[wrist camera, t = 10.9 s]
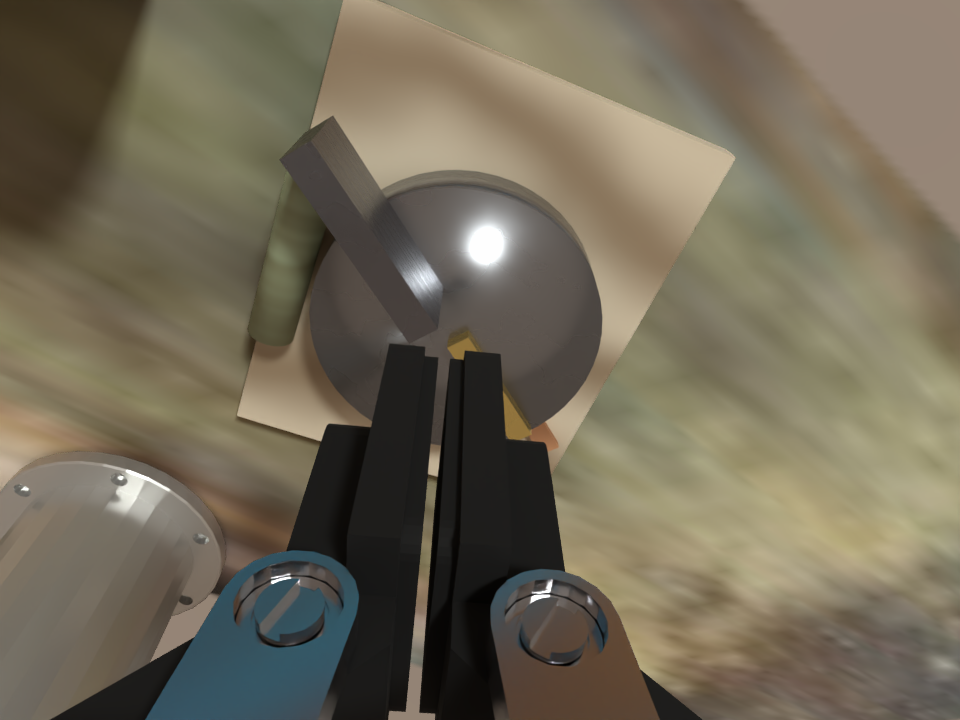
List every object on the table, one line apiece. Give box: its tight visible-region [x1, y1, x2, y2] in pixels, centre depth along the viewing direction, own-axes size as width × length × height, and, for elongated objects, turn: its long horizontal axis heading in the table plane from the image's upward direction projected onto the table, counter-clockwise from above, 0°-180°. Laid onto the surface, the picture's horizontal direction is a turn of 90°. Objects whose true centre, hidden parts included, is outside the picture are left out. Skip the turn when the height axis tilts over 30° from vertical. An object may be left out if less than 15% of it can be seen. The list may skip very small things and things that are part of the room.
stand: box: [237, 0, 736, 477], centre depth 31 cm, size 20×16×3 cm
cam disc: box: [280, 116, 603, 446], centre depth 28 cm, size 14×12×6 cm
